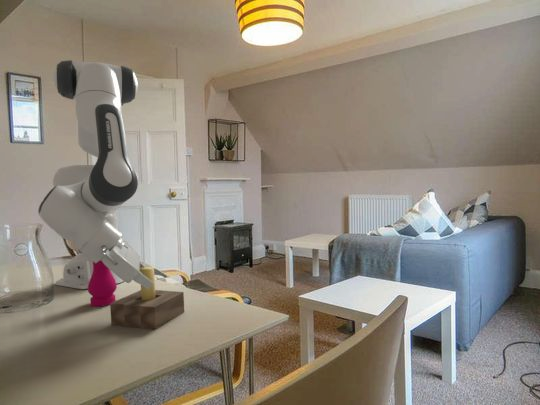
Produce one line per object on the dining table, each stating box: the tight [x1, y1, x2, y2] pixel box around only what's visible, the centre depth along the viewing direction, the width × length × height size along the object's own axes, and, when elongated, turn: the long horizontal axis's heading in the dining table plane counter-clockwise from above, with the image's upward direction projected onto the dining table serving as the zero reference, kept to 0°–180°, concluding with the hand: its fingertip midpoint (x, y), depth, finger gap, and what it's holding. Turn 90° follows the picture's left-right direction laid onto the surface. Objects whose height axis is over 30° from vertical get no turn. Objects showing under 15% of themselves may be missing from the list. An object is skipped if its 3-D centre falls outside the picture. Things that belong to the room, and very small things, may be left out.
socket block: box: [109, 289, 185, 330], centre depth 94 cm, size 12×12×5 cm
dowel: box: [140, 266, 156, 301], centre depth 93 cm, size 3×3×12 cm
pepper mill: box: [87, 231, 117, 308], centre depth 106 cm, size 7×7×20 cm
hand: (150, 281), depth 93 cm, fingers open, 8 cm apart
